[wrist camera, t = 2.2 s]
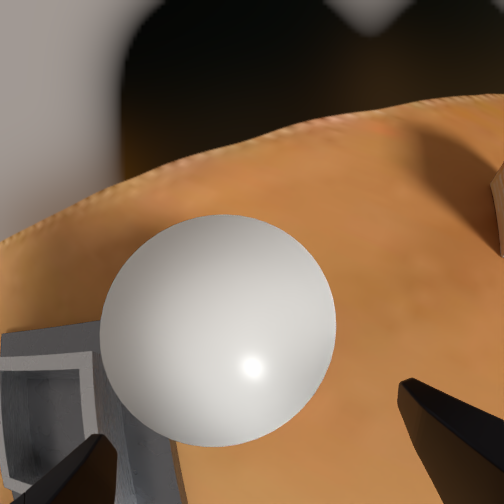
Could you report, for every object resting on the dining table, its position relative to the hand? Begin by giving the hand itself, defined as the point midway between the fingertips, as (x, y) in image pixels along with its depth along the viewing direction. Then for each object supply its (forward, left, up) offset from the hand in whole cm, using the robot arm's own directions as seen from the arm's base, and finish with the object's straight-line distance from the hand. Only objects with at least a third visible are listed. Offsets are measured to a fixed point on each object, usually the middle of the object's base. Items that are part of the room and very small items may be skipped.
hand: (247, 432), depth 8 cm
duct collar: (-9, +11, -10) cm, 17 cm away
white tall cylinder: (+2, +2, -10) cm, 10 cm away
